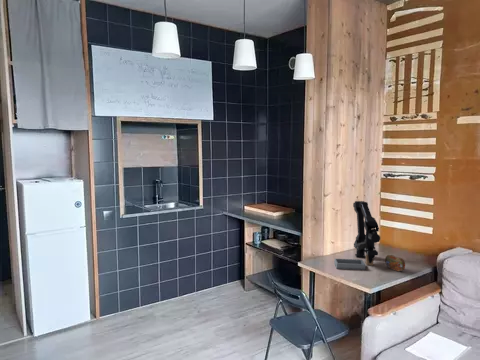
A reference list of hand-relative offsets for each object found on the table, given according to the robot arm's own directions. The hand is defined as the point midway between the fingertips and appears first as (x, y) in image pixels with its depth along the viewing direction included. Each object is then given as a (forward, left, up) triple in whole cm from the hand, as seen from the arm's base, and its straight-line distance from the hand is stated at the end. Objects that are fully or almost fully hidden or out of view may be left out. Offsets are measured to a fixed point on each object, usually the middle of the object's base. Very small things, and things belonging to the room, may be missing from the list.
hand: (369, 262), depth 245 cm
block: (0, 0, -2) cm, 2 cm away
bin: (+7, -14, -2) cm, 16 cm away
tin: (+8, +14, -2) cm, 16 cm away
